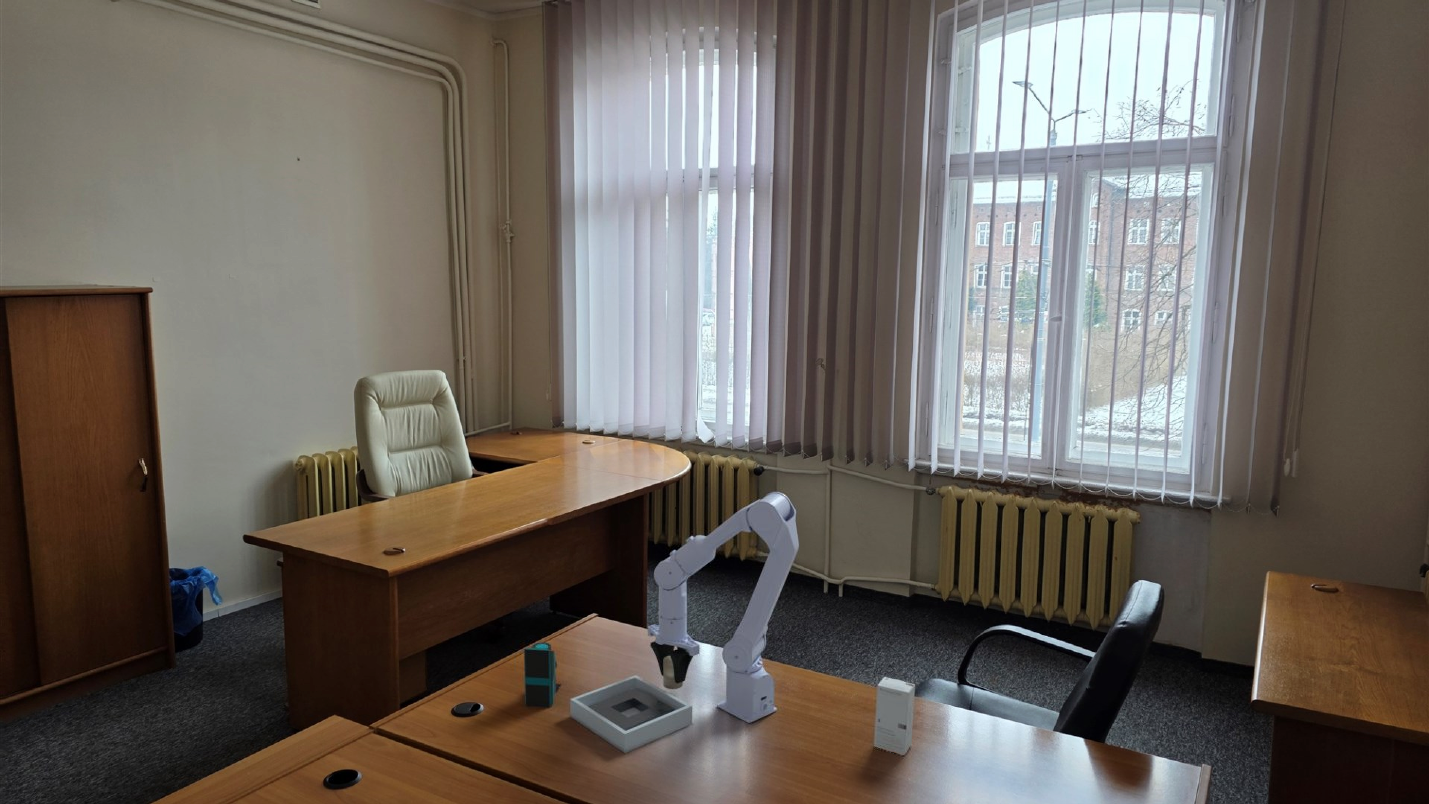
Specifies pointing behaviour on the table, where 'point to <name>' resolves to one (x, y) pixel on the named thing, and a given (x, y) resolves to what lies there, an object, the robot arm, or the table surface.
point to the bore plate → (626, 701)
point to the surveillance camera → (540, 676)
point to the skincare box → (894, 715)
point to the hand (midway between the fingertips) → (673, 678)
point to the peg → (669, 674)
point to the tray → (637, 734)
